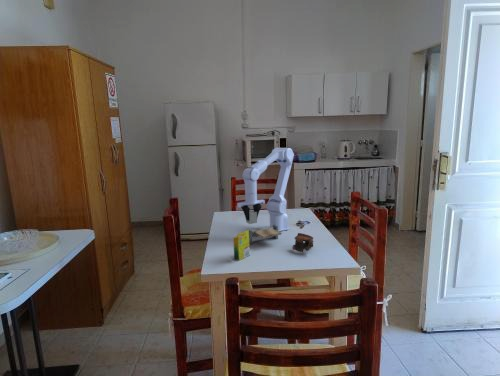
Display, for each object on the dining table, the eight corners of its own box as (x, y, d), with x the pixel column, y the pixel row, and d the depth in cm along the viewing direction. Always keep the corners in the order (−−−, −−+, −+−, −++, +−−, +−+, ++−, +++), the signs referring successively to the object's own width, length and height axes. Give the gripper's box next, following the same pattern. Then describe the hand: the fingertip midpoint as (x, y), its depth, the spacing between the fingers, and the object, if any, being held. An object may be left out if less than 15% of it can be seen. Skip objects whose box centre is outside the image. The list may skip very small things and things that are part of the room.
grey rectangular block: (253, 220, 168) (253, 210, 167) (257, 222, 165) (256, 212, 164) (246, 222, 166) (245, 211, 165) (249, 224, 163) (249, 213, 162)
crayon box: (245, 253, 147) (244, 228, 145) (250, 255, 145) (249, 229, 143) (233, 259, 141) (232, 232, 139) (238, 260, 139) (238, 234, 137)
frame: (271, 235, 170) (271, 223, 169) (278, 239, 165) (277, 226, 164) (243, 241, 163) (243, 228, 162) (250, 245, 158) (249, 231, 156)
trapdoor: (267, 230, 170) (267, 224, 169) (283, 238, 157) (283, 232, 157) (246, 234, 164) (246, 228, 163) (260, 243, 151) (260, 236, 151)
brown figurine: (287, 248, 152) (292, 231, 154) (303, 254, 156) (308, 237, 157) (302, 251, 141) (307, 232, 143) (319, 257, 145) (324, 239, 147)
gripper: (259, 190, 170) (260, 215, 172) (234, 193, 163) (235, 219, 165) (266, 192, 163) (267, 218, 166) (240, 195, 157) (241, 223, 159)
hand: (251, 219), depth 165 cm, fingers closed on grey rectangular block, 4 cm apart
